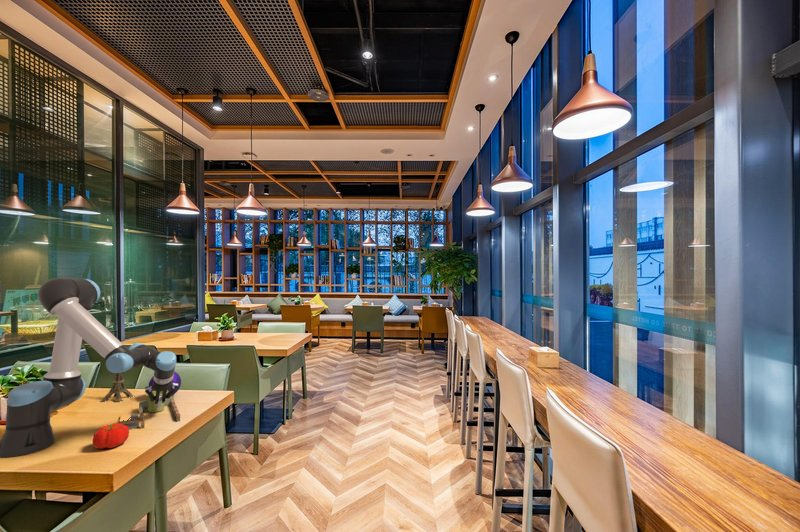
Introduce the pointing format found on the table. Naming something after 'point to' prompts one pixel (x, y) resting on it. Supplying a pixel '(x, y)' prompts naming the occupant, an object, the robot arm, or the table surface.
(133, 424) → the grey and wooden pieces
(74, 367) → the robot arm
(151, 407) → the plant pot
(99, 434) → the tomato
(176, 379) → the decorative orb
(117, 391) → the eiffel tower
